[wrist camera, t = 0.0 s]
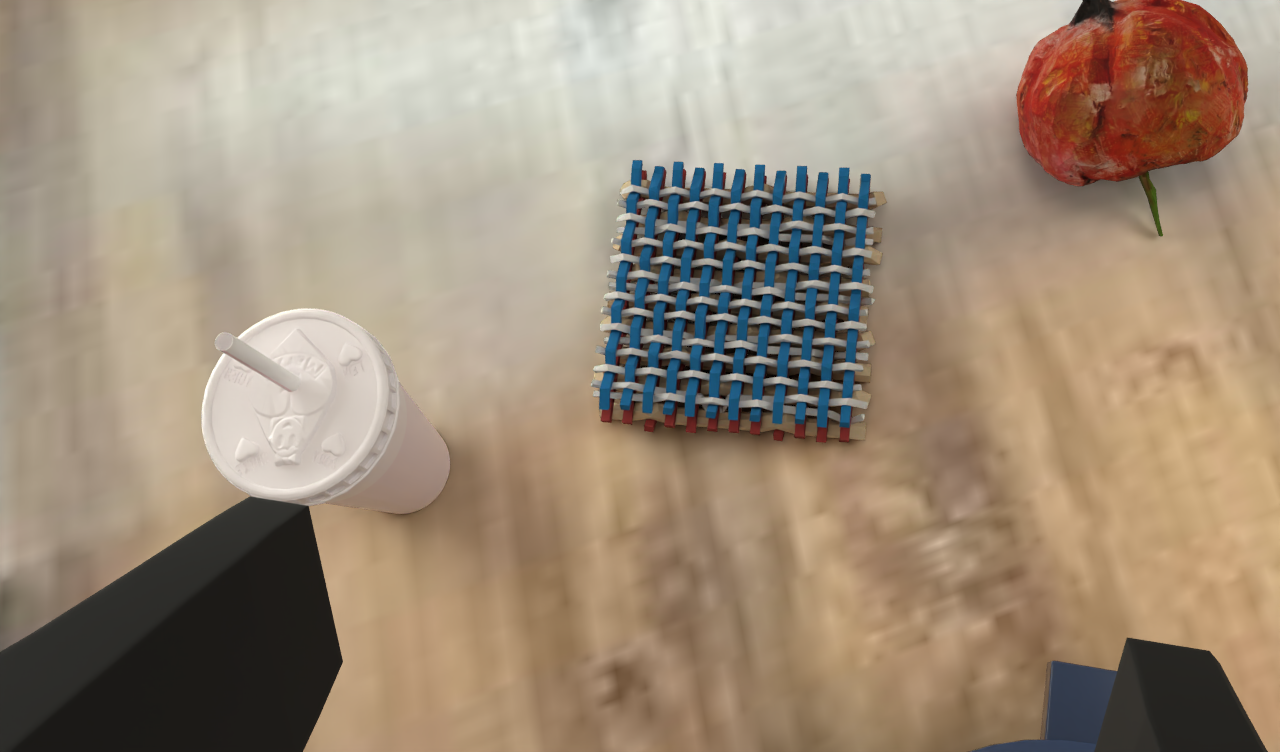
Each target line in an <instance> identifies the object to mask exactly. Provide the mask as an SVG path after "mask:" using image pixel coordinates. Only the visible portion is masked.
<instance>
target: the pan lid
mask: <svg viewBox="0 0 1280 752" xmlns="http://www.w3.org/2000/svg"><path fill="white" fill-rule="evenodd" d="M1095 748H1096V744H1095V743H1087V742H1079V741H1070V740H1061V739H1045V740H1019V741H1013V742H1006V743H999V744H993V745H989V746H985V747H982V748H978V749H975V750H971V751H968V752H1094V751H1095Z"/></svg>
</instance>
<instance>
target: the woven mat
mask: <svg viewBox="0 0 1280 752" xmlns="http://www.w3.org/2000/svg"><path fill="white" fill-rule="evenodd" d="M723 167H724V163H714V171H713V184H712V189H709V188H704V187H705V179H706V171H705V169H704V168H695V172H694V176H693V180H692V184H691V187H690V188H685V180H686V170H685V169H683V168H684V165H683V162H674V165H673V177H672V187H664V186H665V178H666V170H665V168H664V167H661V166H655V170H654V173H653V176H652V180H651V181H649V180H647V172H646V171H643V170H642V160H633V164H632V173H631V180H630V181H628V182H626V183H624V184H623V186H622V188H621V189H620V192H621V193H620V195H621V194H622V196H623V198H624V199H626V201H623V200H617V205H618V206H621V207H624V208H626V214H623V215H620V216H618V217H617V220H616V222H618V221H626V226H625V227H618V228H617V232H616V233H623V234H621V235H619V236H618V237H616V238H612V244H613V248H614V249H616V250H618V251H620V252H621V254H617V255H614V256H610V260H611V263H615V262H619V261H620V265H619V269H618V272H617V271H612V270H608V272H607V277H609V278H614V279H616V282H609V289H613V290H616V291H615V292H609V293H607V294H605V296H604V299H605V300H606V301H608V305H607V307H604V306H603V307H602V308H601V313H602V314H606V315H609V316H608V317H606V318H605V319H604V320H603V321H602V322H601V323H600V331H603V332H611V333H610V336H609V337H605V339H604V343H605V344H607V346H606V348H604V347H600V346H597V347H596V351H595V352H596V353H600V354H603V355H605V363H606V364H603V365H598V366H595V367H594V369H593V371H594V372H595V374H594V379H593V380H592V382H591V387H596V388H600V391H594V393H593V396H594V397H600V399H599V416H600V418H601V421H602V422H608V423H611V422H612V420H622V423H624V424H631V425H632V422H633V421H636V420H644V419H646V422H645V425H644V431H648V432H653V431H654V428H655V425H656V423H657V421H660V422H663V423H664V426H665V427H670V428H675V425H686V432H691V433H696V426H699V427H707V431H713V432H717V429H718V428H723V429H729V430H728V431H729V432H730V433H739V430H747V431H750V434H753V435H760V432H764V431H770V430H774V433H773V438H774V440H777V441H782V440H783V436H784V432H789V433H792V434H794V437H795V438H803V439H805V435H807V436H817V437H816V442H824V443H826V441H827V437H830V438H839V442H849V439H854V440H865V434H866V423H861V422H860V421H863V420H864V416H865V414H860V415H857V416H854V417H852V407H858V408H863V409H867V407H868V404H869V401H870V398H871V395H870V394H869V393H867V392H865V391H863V390H862V388H861V384H858V385H854V381H856V382H867V383H870V375H871V364H862V363H856V359H858V360H867V361H868V353H857V352H860V351H862V350H864V349H866V348H869V347H870V346H872V345H874V344H876V343H875V341H874V338H873V335H872V333H871V331H867V332H860V333H858V332H859V330H861V331H865V330H866V329H867V325H866V322H867V318H868V307H863V306H864V305H872V303H873V302H874V301H875V299H873V298H869V294H870V293H872V292H873V288H874V286H871V285H870V280H865V279H863V277H864V276H870V269H864V263H866V264H872V265H880V261H881V258H882V254H883V253H881V252H879V251H877V250H875V249H874V248H872V247H870V246H868V245H873V242H880V243H881V235H882V228H875V227H867V221H868V217H871V218H874V216H875V211H871V209H873V208H876V207H878V206H880V205H883V204H885V203H887V202H886V199H885V196H884V192H871V193H870V180H871V179H870V178H871V175H870V174H861V179H860V188H859V194H848V193H849V183H850V179H849V168H839V182H838V194H837V193H828V183H829V178H828V173H826V172H819V175H818V182H817V189H816V193H811V192H807V186H808V175H807V166H797V178H796V191H795V192H786V183H787V175H786V171H777V173H776V179H775V184H774V187H772V186H769V185H767V184H766V180H767V176H765V165H755V176H754V186H750V187H746V188H745V183H746V173H745V170H744V169H736V172H735V176H734V180H733V185H732V189H724V188H725V179H726V173H725V172H723ZM645 199H647V200H645ZM766 204H767V205H770V206H767V207H765V206H766ZM749 205H750V207H749ZM645 207H649V209H648V212H647V215H640V214H641V209H642V208H645ZM661 208H662V209H665V210H666V211H664V212H661ZM686 209H690V210H689V212H687V211H685V210H686ZM702 210H704V211H707V212H708V217H701V211H702ZM730 210H731V212H730V216H729V218H721V213H722V212H725V211H730ZM742 212H745V213H749V214H750V219H741V217H742ZM767 213H772V218H771V220H762V217H763V214H767ZM783 213H785V214H788V215H791V216H788V217H785V218H783ZM813 214H815V218H813V217H810V216H809V215H813ZM825 215H828V216H831V217H834V218H835V224H834V223H825ZM856 216H858V217H857V226H854V225H846V219H847V218H852V217H856ZM663 232H666V233H665V236H664V239H663V241H662V240H657V237H658V234H659V233H663ZM680 233H683V234H686V239H684V240H680V241H678V240H679V237H680ZM637 234H645V237H644V238H640V239H637ZM699 234H706V238H705V241H704V243H699V242H698V236H699ZM719 235H725V236H727V239H725V240H722V241H718V238H719ZM741 236H748V239H747V242H745V241H742V240H740V237H741ZM760 237H763V238H766V239H769V244H767V245H763V246H759V244H760ZM780 241H787V242H790V245H789V247H782V246H780ZM802 242H810V243H812V246H811V247H806V248H802ZM823 243H825V244H828V245H832V246H833V247H832V249H824V248H822V244H823ZM637 256H640V257H637ZM739 258H741V259H743V260H744V261H740V262H738V261H739ZM722 259H723V262H722V261H719V260H722ZM633 263H635V264H633ZM660 263H662V264H660ZM763 263H765V264H763ZM779 264H782V265H779ZM852 264H853V268H852V269H850V268H846V266H849V265H852ZM675 265H677V266H680V267H681V268H674V267H675ZM702 265H703V269H694V268H695V267H698V266H702ZM806 265H807V266H806ZM820 266H826V267H822V268H820ZM715 267H718V268H721V269H723V270H722V271H721V270H715ZM742 268H745V272H739V271H736V270H738V269H742ZM757 269H759V270H758V271H757ZM786 270H788V272H787V271H786ZM799 271H800V272H804V273H807V274H809V276H808V275H799ZM830 272H831V277H822V276H819V275H820V274H825V273H830ZM841 273H842V274H845V275H848V276H851V277H852V279H850V278H841ZM632 281H637V284H636V283H631V282H632ZM654 281H656V282H658V285H656V284H654ZM677 290H679V292H678V294H677V296H675V295H671V292H673V291H677ZM784 290H785V291H784ZM630 291H635V293H630ZM692 291H696V292H699V293H695V294H691V292H692ZM651 292H658V294H650V293H651ZM719 292H721V294H720V295H717V294H713V293H719ZM797 292H798V293H797ZM733 293H734V294H740V295H742V299H732V295H733ZM754 295H763V298H762V300H753V299H754ZM775 296H778V297H781V298H784V299H785V302H782V301H774V299H775ZM848 296H850V297H848ZM861 297H868V298H861ZM796 300H801V301H805V303H799V302H796ZM817 301H821V302H817ZM695 311H696V312H695ZM712 311H713V312H716V313H718V314H716V315H712ZM691 312H695V314H693V313H691ZM631 315H634V317H633V316H631ZM736 316H738V317H736ZM647 317H649V318H653V321H648V320H646V319H647ZM752 317H754V318H752ZM672 318H676V320H675V322H667V320H668V319H672ZM838 318H839V319H842V320H845V321H847V322H842V323H838ZM778 319H782V320H778ZM824 319H826V320H825V323H823V322H819V321H820V320H824ZM688 320H692V321H695V324H694V323H688ZM717 320H718V323H717V325H709V324H710V322H711V321H717ZM794 320H795V321H794ZM729 322H732V323H735V324H730V325H729ZM757 324H760V325H757ZM772 324H773V325H776V326H780V327H781V329H772V328H771V325H772ZM802 326H804V330H793V328H795V327H802ZM815 327H817V328H821V329H824V330H825V332H820V331H815ZM844 329H848V332H847V333H836V331H838V330H844ZM627 334H630V337H626V335H627ZM643 343H651V344H650V347H649V348H643ZM754 343H756V344H754ZM623 344H630V347H622V346H623ZM664 344H669V345H672V346H670V347H664ZM691 345H693V346H692V348H689V347H686V346H691ZM705 346H706V347H712V348H714V352H705ZM727 348H736V351H735V354H730V353H726V349H727ZM748 350H752V351H755V352H757V355H747V354H748ZM822 350H824V351H822ZM835 351H846V352H835ZM768 354H779V355H778V357H773V356H768ZM791 355H796V356H791ZM843 358H846V359H845V362H840V361H834V360H836V359H843ZM619 364H626V365H625V367H620V366H619ZM640 365H645V366H648V367H646V368H640ZM668 365H669V366H668ZM685 365H686V366H689V367H690V370H689V371H684V369H685ZM661 366H662V367H664V366H668V369H667V370H663V369H661ZM703 369H704V370H711V371H710V374H708V373H704V372H702V371H703ZM725 371H731V372H733V374H728V375H725ZM745 373H754V375H753V377H752V376H747V375H745ZM798 373H799V380H798V381H796V380H792V379H788V378H789V376H791V375H794V374H798ZM811 373H812V374H815V375H818V376H821V381H817V382H810V378H811ZM647 374H648V375H647ZM766 374H772V375H777V377H773V378H766ZM688 378H689V379H688ZM832 379H834V380H844V381H843V384H839V383H835V382H832ZM744 382H747V383H744ZM774 384H776V385H774ZM616 391H623V393H620V392H616ZM636 392H637V393H643V394H636ZM706 396H709V397H707V398H705V397H706ZM723 396H724V397H726V399H722V398H723ZM615 399H621V401H620V403H614V400H615ZM635 401H637V402H635ZM660 401H666V402H665V404H661V403H659V402H660ZM678 402H683V403H685V407H677V406H678ZM699 404H702V406H703V408H704V409H701V408H699ZM786 404H791V405H797V406H796V407H794V406H786ZM721 405H722V406H721ZM728 406H729V408H728V411H726V410H727V407H728ZM808 406H817V407H818V409H812V408H807V407H808ZM836 406H841V414H838V413H836V412H834V411H830V408H831V407H836ZM742 407H752V408H751V412H741V409H742ZM763 408H764V409H767V410H770V412H764V413H762V409H763ZM794 414H796V415H794ZM807 415H811V416H817V418H807ZM829 418H832V419H834V420H829Z"/></svg>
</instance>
